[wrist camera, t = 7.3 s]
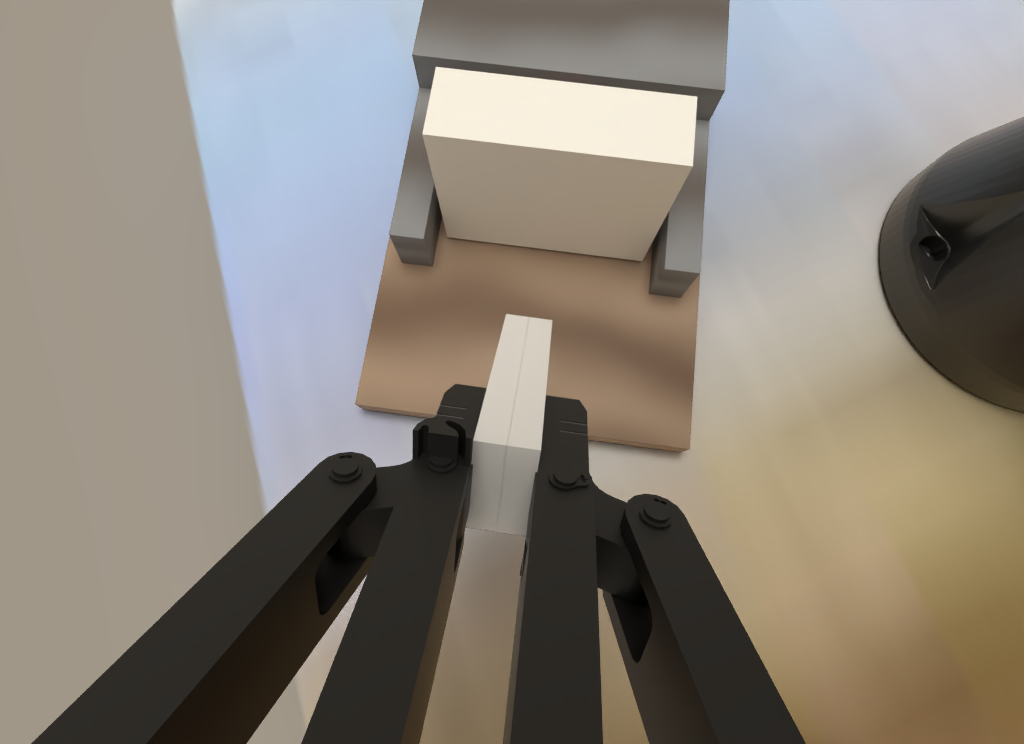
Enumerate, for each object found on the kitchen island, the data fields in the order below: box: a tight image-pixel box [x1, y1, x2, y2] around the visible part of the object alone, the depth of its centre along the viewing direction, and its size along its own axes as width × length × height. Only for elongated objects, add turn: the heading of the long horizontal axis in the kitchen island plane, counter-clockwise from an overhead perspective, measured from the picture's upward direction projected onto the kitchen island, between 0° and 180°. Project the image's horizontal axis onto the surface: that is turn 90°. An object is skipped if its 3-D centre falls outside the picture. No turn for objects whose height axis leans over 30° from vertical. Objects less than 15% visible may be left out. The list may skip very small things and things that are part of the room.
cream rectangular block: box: [422, 67, 697, 261], centre depth 24 cm, size 3×10×8 cm, turn 82°
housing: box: [355, 0, 730, 452], centre depth 27 cm, size 22×16×6 cm
